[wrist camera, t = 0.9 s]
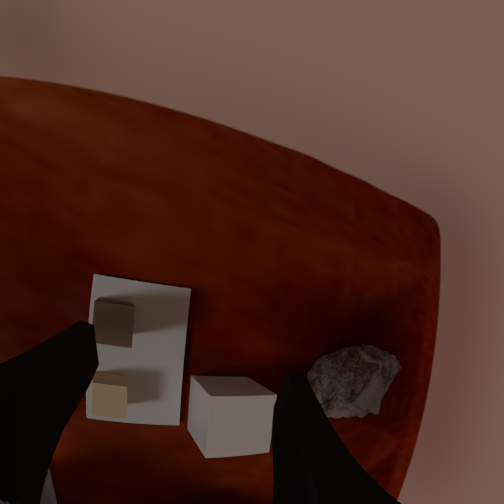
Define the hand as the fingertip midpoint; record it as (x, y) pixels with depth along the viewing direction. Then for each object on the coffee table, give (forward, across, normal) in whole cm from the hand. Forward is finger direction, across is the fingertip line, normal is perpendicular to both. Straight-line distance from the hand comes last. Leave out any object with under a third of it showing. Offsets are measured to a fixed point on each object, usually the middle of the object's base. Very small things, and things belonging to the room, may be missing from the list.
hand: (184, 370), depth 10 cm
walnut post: (+11, +8, +7) cm, 15 cm away
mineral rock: (+17, -15, +14) cm, 27 cm away
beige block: (+10, -2, +14) cm, 18 cm away
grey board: (+10, +6, +10) cm, 15 cm away
